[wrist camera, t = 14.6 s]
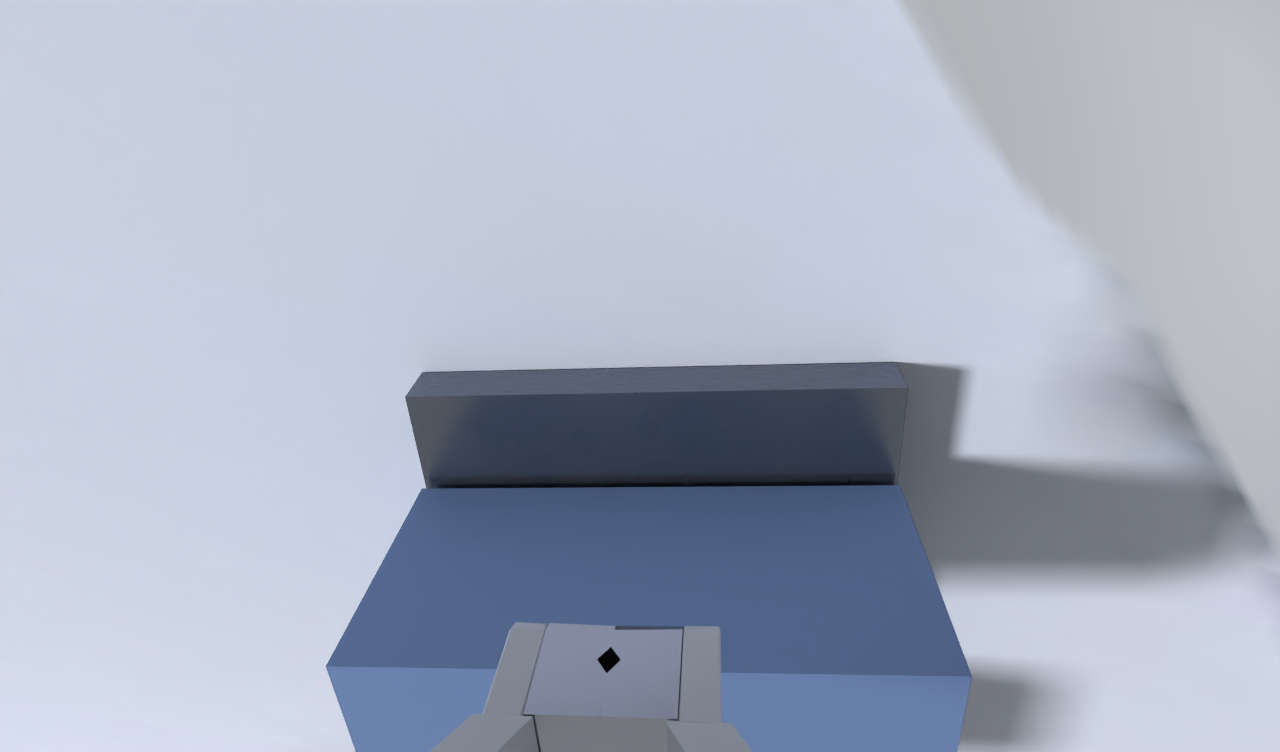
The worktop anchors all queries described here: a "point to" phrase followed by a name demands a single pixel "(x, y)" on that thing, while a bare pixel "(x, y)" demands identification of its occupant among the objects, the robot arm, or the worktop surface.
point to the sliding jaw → (666, 608)
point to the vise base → (661, 426)
